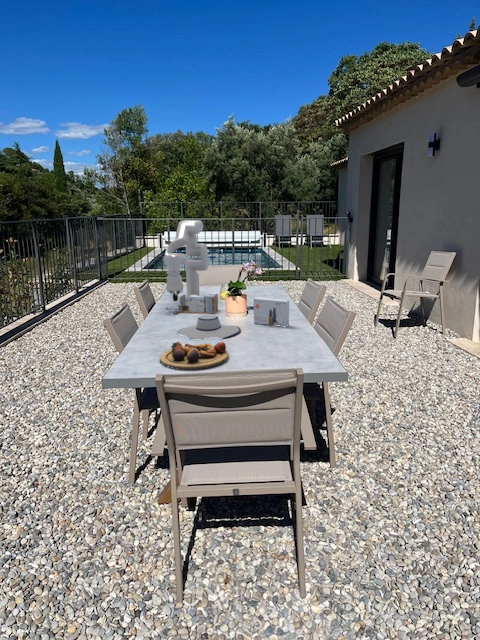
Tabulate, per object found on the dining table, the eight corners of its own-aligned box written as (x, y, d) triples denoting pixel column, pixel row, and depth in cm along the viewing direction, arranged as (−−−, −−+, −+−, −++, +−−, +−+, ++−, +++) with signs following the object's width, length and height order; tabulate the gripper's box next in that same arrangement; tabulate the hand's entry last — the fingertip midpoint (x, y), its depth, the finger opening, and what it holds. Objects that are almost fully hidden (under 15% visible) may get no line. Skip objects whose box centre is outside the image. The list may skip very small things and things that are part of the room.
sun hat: (250, 327, 265) (250, 312, 262) (224, 345, 233) (224, 328, 230) (195, 321, 278) (195, 307, 276) (164, 337, 246) (163, 321, 244)
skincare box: (253, 324, 270) (253, 298, 266) (256, 322, 274) (256, 296, 270) (286, 328, 261) (286, 301, 257) (289, 325, 265) (289, 299, 261)
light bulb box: (206, 310, 301) (206, 294, 298) (204, 312, 295) (203, 296, 292) (191, 310, 303) (190, 294, 300) (188, 312, 296) (187, 296, 293)
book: (209, 309, 303) (208, 294, 300) (215, 310, 302) (215, 294, 299) (206, 313, 294) (205, 296, 291) (213, 313, 293) (212, 296, 290)
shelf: (179, 310, 307) (178, 293, 304) (218, 311, 303) (217, 293, 300) (174, 314, 295) (173, 296, 292) (214, 315, 291) (213, 297, 288)
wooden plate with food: (230, 348, 225) (230, 332, 223) (226, 370, 194) (225, 352, 192) (167, 349, 226) (166, 334, 224) (153, 371, 195) (151, 353, 193)
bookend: (180, 309, 305) (180, 294, 302) (185, 309, 304) (185, 294, 302) (176, 312, 296) (176, 297, 294) (182, 312, 296) (181, 297, 293)
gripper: (161, 274, 292) (162, 301, 297) (183, 274, 290) (184, 302, 294) (165, 272, 299) (166, 299, 304) (186, 272, 297) (187, 300, 302)
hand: (175, 300), depth 299 cm, fingers closed
